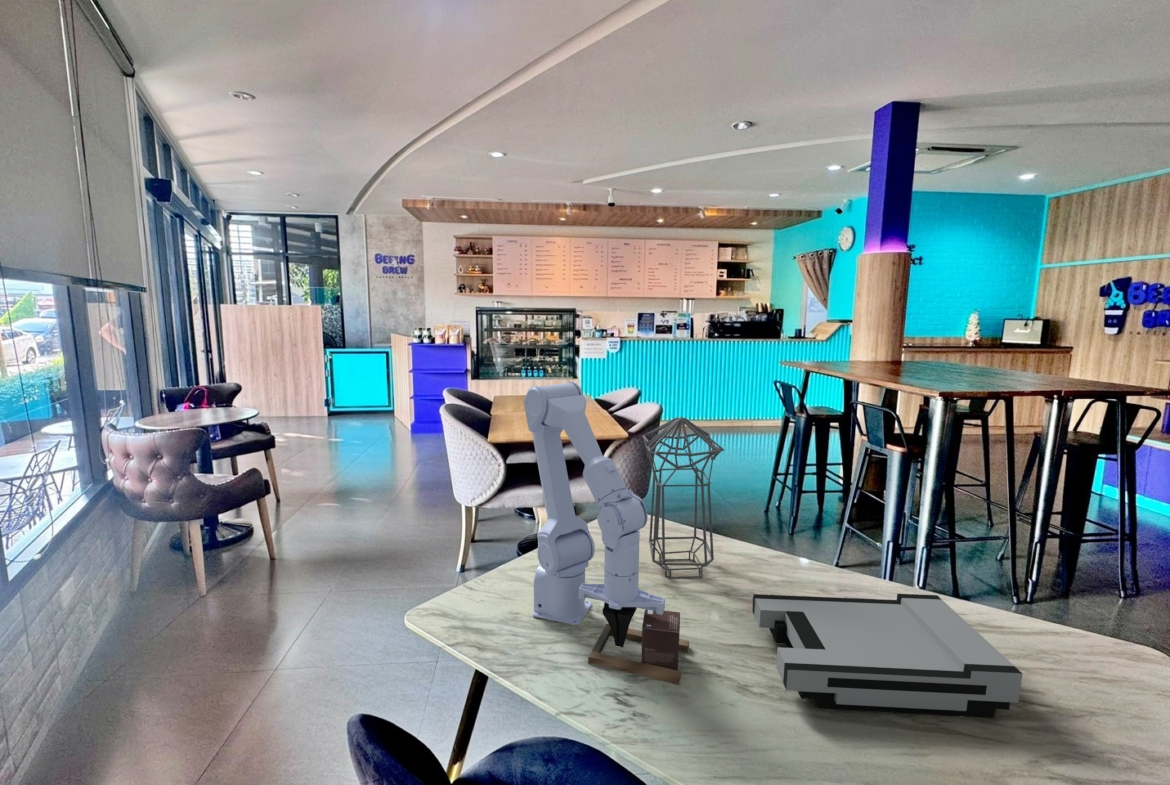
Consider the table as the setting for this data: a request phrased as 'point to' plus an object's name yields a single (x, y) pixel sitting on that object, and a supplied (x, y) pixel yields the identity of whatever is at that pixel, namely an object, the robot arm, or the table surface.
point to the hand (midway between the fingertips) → (620, 643)
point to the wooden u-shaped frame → (629, 665)
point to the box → (661, 639)
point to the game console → (886, 655)
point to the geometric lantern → (715, 451)
